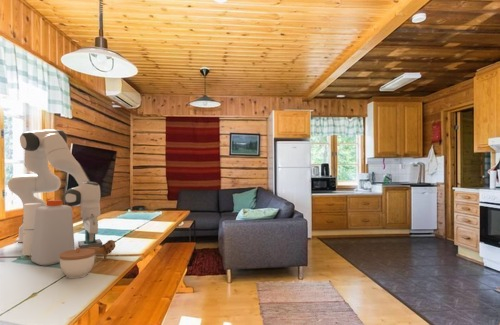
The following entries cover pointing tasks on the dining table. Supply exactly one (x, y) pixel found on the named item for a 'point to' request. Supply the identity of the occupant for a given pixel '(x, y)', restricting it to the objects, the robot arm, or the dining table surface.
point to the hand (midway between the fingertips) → (90, 240)
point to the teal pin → (88, 238)
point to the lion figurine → (104, 249)
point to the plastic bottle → (52, 232)
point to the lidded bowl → (77, 262)
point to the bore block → (83, 245)
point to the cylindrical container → (29, 226)
